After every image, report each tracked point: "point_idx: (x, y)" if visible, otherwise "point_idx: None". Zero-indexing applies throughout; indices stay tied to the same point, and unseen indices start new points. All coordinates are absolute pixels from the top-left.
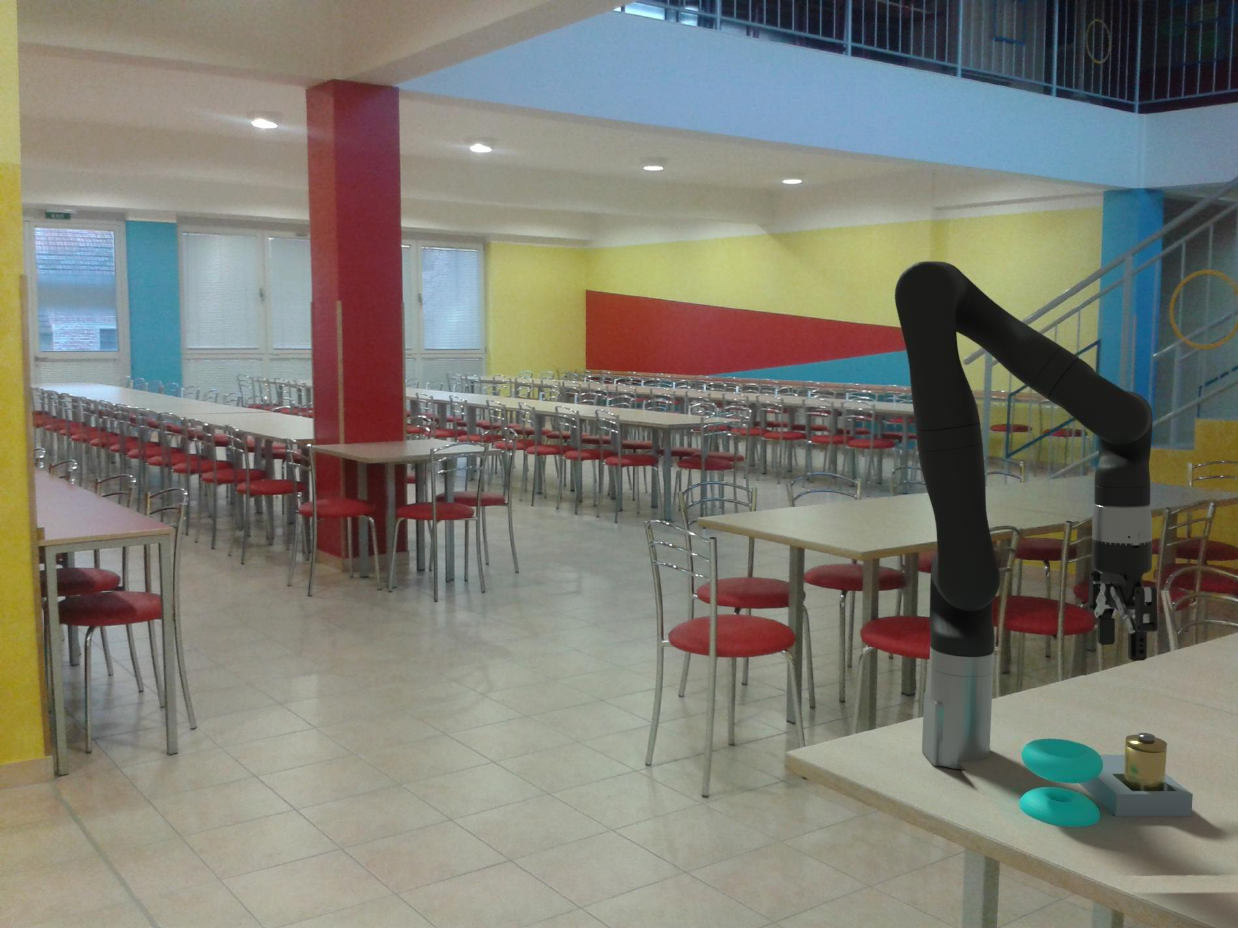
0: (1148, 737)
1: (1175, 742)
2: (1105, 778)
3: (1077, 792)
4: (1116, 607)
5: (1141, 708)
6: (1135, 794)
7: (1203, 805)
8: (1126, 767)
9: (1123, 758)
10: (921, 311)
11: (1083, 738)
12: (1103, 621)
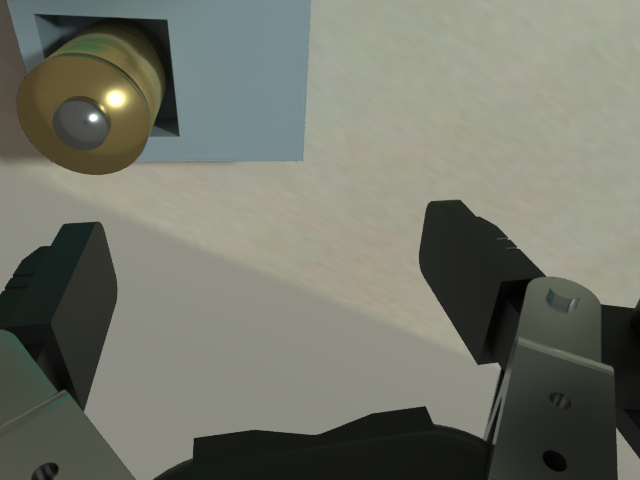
0: (56, 123)
1: None
2: None
3: None
4: (275, 449)
5: (625, 299)
6: (10, 11)
7: (194, 205)
8: (92, 37)
9: (280, 109)
10: None
11: (547, 139)
12: (488, 293)
